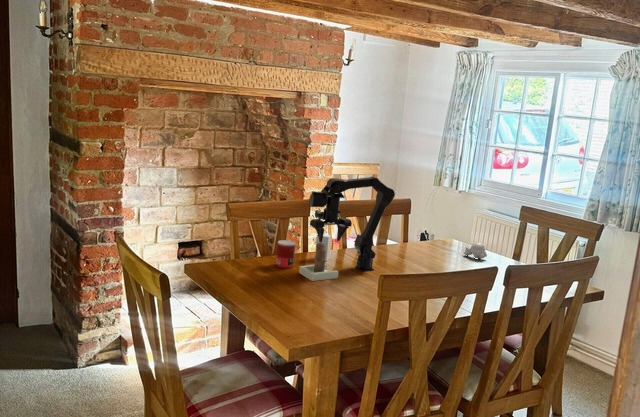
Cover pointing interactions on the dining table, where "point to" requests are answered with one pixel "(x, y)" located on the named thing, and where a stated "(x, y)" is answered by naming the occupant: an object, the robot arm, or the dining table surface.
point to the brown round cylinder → (320, 257)
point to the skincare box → (326, 241)
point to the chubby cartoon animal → (476, 250)
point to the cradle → (317, 273)
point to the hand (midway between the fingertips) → (329, 241)
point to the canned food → (285, 254)
